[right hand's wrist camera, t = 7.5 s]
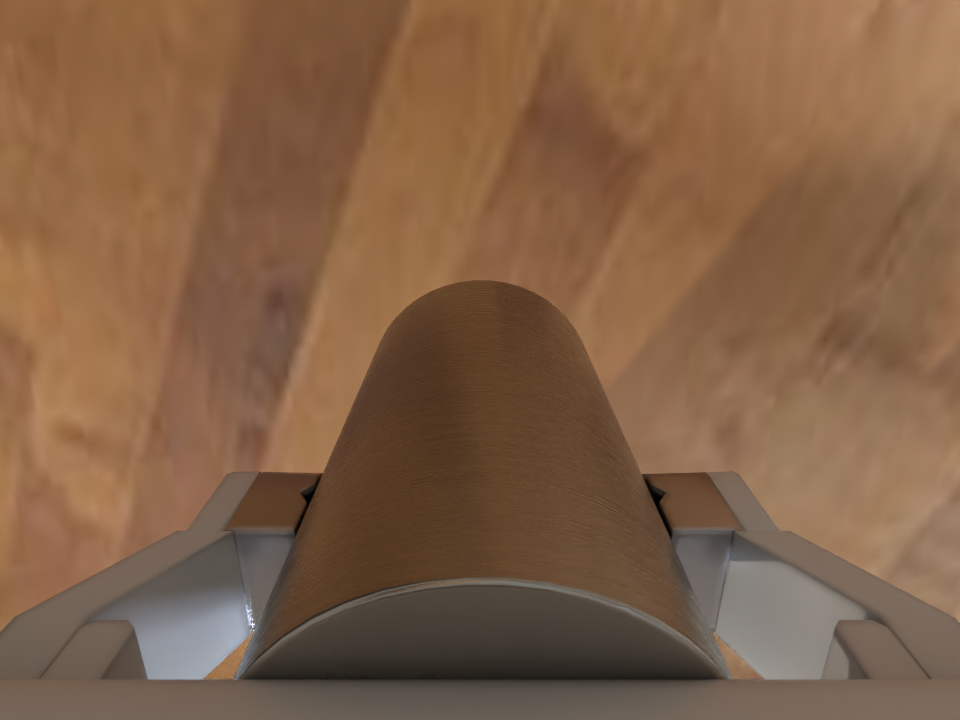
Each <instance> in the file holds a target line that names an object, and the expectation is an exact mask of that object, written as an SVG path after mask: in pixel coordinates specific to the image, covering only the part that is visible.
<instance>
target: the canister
mask: <svg viewBox="0 0 960 720" xmlns="http://www.w3.org/2000/svg"><path fill="white" fill-rule="evenodd" d="M234 679H733V678H732V675H731V673H730V671H729V669H728V666H727V664H726V662H725V660H724V657H723V655H722V653H721V651H720V648H719V646H718V644H717V642H716V640H715V637H714V635H713V633H712V631H711V628H710V626H709V624H708V622H707V619H706V617H705V615H704V613H703V610H702V608H701V606H700V604H699V602H698V599H697V597H696V595H695V593H694V590H693V588H692V586H691V584H690V581H689V579H688V577H687V575H686V572H685V570H684V568H683V566H682V563H681V561H680V559H679V557H678V555H677V552H676V550H675V548H674V546H673V543H672V541H671V539H670V537H669V534H668V532H667V530H666V528H665V525H664V523H663V521H662V519H661V517H660V514H659V512H658V510H657V508H656V505H655V503H654V501H653V499H652V496H651V494H650V492H649V490H648V487H647V485H646V483H645V481H644V479H643V476H642V474H641V472H640V470H639V467H638V465H637V463H636V461H635V458H634V456H633V454H632V452H631V449H630V447H629V445H628V443H627V441H626V438H625V436H624V434H623V432H622V429H621V427H620V425H619V423H618V420H617V418H616V416H615V414H614V411H613V409H612V407H611V405H610V403H609V400H608V398H607V396H606V394H605V391H604V389H603V387H602V385H601V382H600V380H599V378H598V376H597V373H596V371H595V369H594V367H593V365H592V362H591V360H590V358H589V356H588V353H587V351H586V349H585V347H584V344H583V342H582V340H581V338H580V337H579V335H578V333H577V331H576V329H575V328H574V327H573V325H572V324H571V323H570V321H569V320H568V319H567V318H566V317H565V316H564V315H563V314H562V313H561V311H560V310H559V309H558V308H556V307H555V306H554V305H552V304H551V303H550V302H549V301H547V300H546V299H544V298H542V297H541V296H539V295H537V294H535V293H534V292H531V291H529V290H527V289H524V288H522V287H519V286H516V285H512V284H508V283H504V282H497V281H483V280H474V281H466V282H459V283H455V284H451V285H447V286H443V287H441V288H438V289H436V290H433V291H431V292H429V293H427V294H425V295H424V296H422V297H420V298H418V299H417V300H416V301H414V302H413V303H412V304H410V305H409V306H408V307H406V308H405V309H404V310H403V311H402V312H401V313H400V314H399V315H398V316H397V317H396V318H395V320H394V321H393V322H392V323H391V325H390V326H389V327H388V329H387V330H386V332H385V334H384V336H383V338H382V339H381V341H380V343H379V346H378V348H377V350H376V353H375V355H374V357H373V360H372V362H371V364H370V366H369V369H368V371H367V373H366V376H365V378H364V380H363V383H362V385H361V387H360V389H359V392H358V394H357V396H356V399H355V401H354V403H353V406H352V408H351V410H350V412H349V415H348V417H347V419H346V422H345V424H344V426H343V429H342V431H341V433H340V436H339V438H338V440H337V442H336V445H335V447H334V449H333V452H332V454H331V456H330V459H329V461H328V463H327V465H326V468H325V470H324V472H323V475H322V477H321V479H320V482H319V484H318V486H317V488H316V491H315V493H314V495H313V498H312V500H311V502H310V505H309V507H308V509H307V511H306V514H305V516H304V518H303V521H302V523H301V525H300V528H299V530H298V532H297V534H296V537H295V539H294V541H293V544H292V546H291V548H290V551H289V553H288V555H287V557H286V560H285V562H284V564H283V567H282V569H281V571H280V574H279V576H278V578H277V580H276V583H275V585H274V587H273V590H272V592H271V594H270V597H269V599H268V601H267V603H266V606H265V608H264V610H263V613H262V615H261V617H260V620H259V622H258V624H257V626H256V629H255V631H254V633H253V636H252V638H251V640H250V643H249V645H248V647H247V649H246V652H245V654H244V656H243V659H242V661H241V663H240V666H239V668H238V670H237V672H236V675H235V677H234Z"/></svg>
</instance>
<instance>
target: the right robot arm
mask: <svg viewBox="0 0 960 720" xmlns="http://www.w3.org/2000/svg"><path fill="white" fill-rule="evenodd" d="M322 475H323V473H287V472H263V473H261V472H232V473H229V474H227V475H226V476H225V478H224V479H223V480H222V482H221V483H220V485H219V486H218V487H217V489H216V490H215V492H214V493H213V494H212V496H211V497H210V499H209V500H208V501H207V503H206V504H205V506H204V507H203V509H202V510H201V511H200V513H199V514H198V516H197V517H196V518H195V520H194V521H193V523H192V524H191V525H190V527H189V528H188V530H187V531H176V532H174V533H172V534H170V535H169V536H167V537H165V538H163V539H161V540H159V541H157V542H155V543H153V544H152V545H150V546H148V547H146V548H144V549H142V550H140V551H138V552H136V553H135V554H133V555H131V556H129V557H127V558H125V559H123V560H121V561H120V562H118V563H116V564H114V565H112V566H110V567H108V568H106V569H104V570H103V571H101V572H99V573H97V574H95V575H93V576H91V577H89V578H87V579H86V580H84V581H82V582H80V583H78V584H76V585H74V586H72V587H71V588H69V589H67V590H65V591H63V592H61V593H59V594H57V595H55V596H54V597H52V598H50V599H48V600H46V601H44V602H42V603H40V604H39V605H37V606H35V607H33V608H31V609H29V610H27V611H25V612H23V613H22V614H20V615H18V616H16V617H14V618H13V619H12V621H11V622H10V623H9V624H8V625H7V626H6V627H5V628H4V629H3V630H2V631H1V632H0V720H960V623H959V622H958V621H957V620H956V619H955V618H954V617H952V616H950V615H948V614H946V613H944V612H942V611H941V610H939V609H937V608H935V607H933V606H931V605H929V604H927V603H925V602H924V601H922V600H920V599H918V598H916V597H914V596H912V595H910V594H908V593H906V592H905V591H903V590H901V589H899V588H897V587H895V586H893V585H891V584H889V583H887V582H886V581H884V580H882V579H880V578H878V577H876V576H874V575H872V574H870V573H869V572H867V571H865V570H863V569H861V568H859V567H857V566H855V565H853V564H851V563H850V562H848V561H846V560H844V559H842V558H840V557H838V556H836V555H834V554H832V553H831V552H829V551H827V550H825V549H823V548H821V547H819V546H817V545H815V544H814V543H812V542H810V541H808V540H806V539H804V538H802V537H800V536H798V535H796V534H795V533H793V532H791V531H780V530H779V529H778V527H777V526H776V525H775V523H774V522H773V521H772V519H771V518H770V516H769V515H768V514H767V512H766V511H765V510H764V508H763V507H762V505H761V504H760V503H759V501H758V500H757V499H756V497H755V496H754V495H753V493H752V492H751V490H750V489H749V488H748V486H747V485H746V484H745V482H744V481H743V480H742V478H741V477H740V475H739V474H737V473H735V472H733V471H729V472H703V473H668V474H642V476H643V479H644V481H645V483H646V485H647V487H648V490H649V492H650V494H651V496H652V499H653V501H654V503H655V505H656V508H657V510H658V512H659V514H660V517H661V519H662V521H663V523H664V525H665V528H666V530H667V532H668V534H669V537H670V539H671V541H672V543H673V546H674V548H675V550H676V552H677V555H678V557H679V559H680V561H681V563H682V566H683V568H684V570H685V572H686V575H687V577H688V579H689V581H690V584H691V586H692V588H693V590H694V593H695V595H696V597H697V599H698V602H699V604H700V606H701V608H702V610H703V613H704V615H705V617H706V619H707V622H708V624H709V626H710V628H711V631H716V632H715V634H716V635H717V636H718V637H719V638H720V639H721V640H722V641H723V642H724V643H726V644H727V645H728V646H729V647H730V648H731V649H732V650H733V651H734V652H735V653H736V654H738V655H739V656H740V657H741V658H742V659H743V660H744V661H745V662H746V663H747V664H748V665H749V666H751V667H752V668H753V669H754V670H755V671H756V672H757V673H758V674H759V675H760V676H761V677H762V678H764V679H203V678H205V677H206V676H207V675H208V674H209V673H210V672H211V671H212V670H213V669H214V668H215V667H216V666H217V665H219V664H220V663H221V662H222V661H223V660H224V659H225V658H226V657H227V656H228V655H229V654H230V653H231V652H233V651H234V650H235V649H236V648H237V647H238V646H239V645H240V644H241V643H242V642H243V641H244V640H245V639H247V638H248V637H249V636H250V635H251V631H255V629H256V626H257V624H258V622H259V620H260V617H261V615H262V613H263V610H264V608H265V606H266V603H267V601H268V599H269V597H270V594H271V592H272V590H273V587H274V585H275V583H276V580H277V578H278V576H279V574H280V571H281V569H282V567H283V564H284V562H285V560H286V557H287V555H288V553H289V551H290V548H291V546H292V544H293V541H294V539H295V537H296V534H297V532H298V530H299V528H300V525H301V523H302V521H303V518H304V516H305V514H306V511H307V509H308V507H309V505H310V502H311V500H312V498H313V495H314V493H315V491H316V488H317V486H318V484H319V482H320V479H321V477H322Z"/></svg>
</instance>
